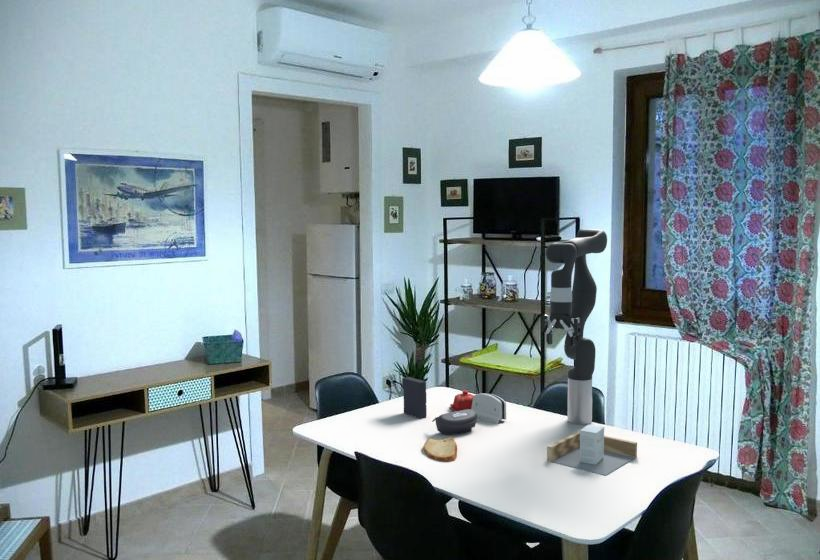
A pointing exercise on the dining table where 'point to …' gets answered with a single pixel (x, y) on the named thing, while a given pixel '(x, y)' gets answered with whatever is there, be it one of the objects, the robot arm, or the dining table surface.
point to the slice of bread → (441, 449)
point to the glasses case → (456, 421)
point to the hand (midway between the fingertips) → (560, 345)
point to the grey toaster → (489, 407)
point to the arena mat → (602, 467)
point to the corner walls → (574, 442)
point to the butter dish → (462, 401)
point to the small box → (591, 444)
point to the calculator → (414, 397)
